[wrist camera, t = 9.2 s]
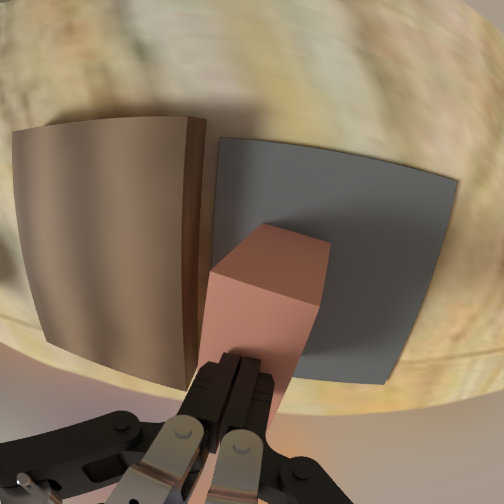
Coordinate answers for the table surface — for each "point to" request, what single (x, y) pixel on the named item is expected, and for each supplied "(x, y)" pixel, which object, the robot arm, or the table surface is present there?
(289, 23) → the table surface
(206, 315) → the block
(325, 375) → the mat
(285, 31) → the table surface
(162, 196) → the platform
